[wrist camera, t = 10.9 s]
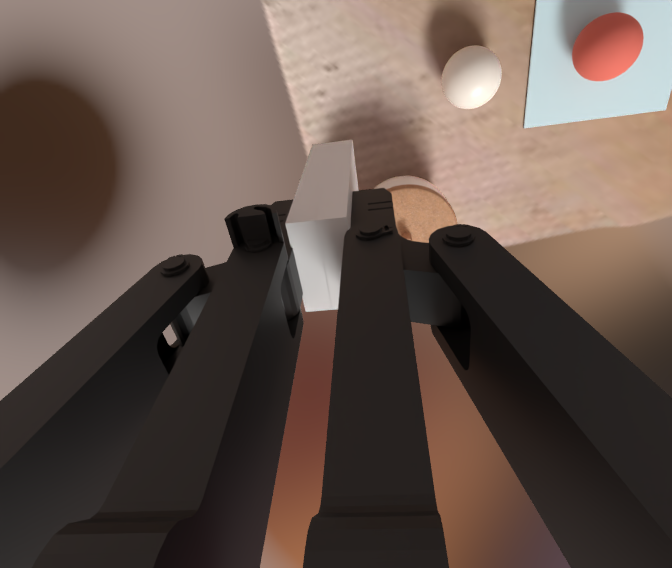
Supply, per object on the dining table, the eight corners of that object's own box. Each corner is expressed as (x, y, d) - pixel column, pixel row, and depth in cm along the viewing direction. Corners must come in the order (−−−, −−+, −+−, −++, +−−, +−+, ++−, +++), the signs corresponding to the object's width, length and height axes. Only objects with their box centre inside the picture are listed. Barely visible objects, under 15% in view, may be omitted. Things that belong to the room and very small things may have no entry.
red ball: (645, 20, 34) (662, 11, 37) (574, 14, 37) (595, 6, 40) (617, 92, 37) (635, 78, 40) (554, 81, 40) (575, 69, 43)
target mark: (523, 127, 45) (524, 128, 45) (539, -33, 38) (540, -34, 37) (664, 109, 44) (665, 110, 43) (711, -63, 36) (713, -64, 36)
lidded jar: (388, 258, 56) (392, 301, 48) (339, 196, 51) (335, 232, 43) (462, 214, 51) (479, 253, 44) (416, 143, 47) (426, 172, 39)
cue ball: (511, 61, 36) (511, 46, 40) (449, 47, 37) (454, 33, 41) (487, 123, 40) (489, 104, 44) (431, 109, 41) (437, 91, 45)
